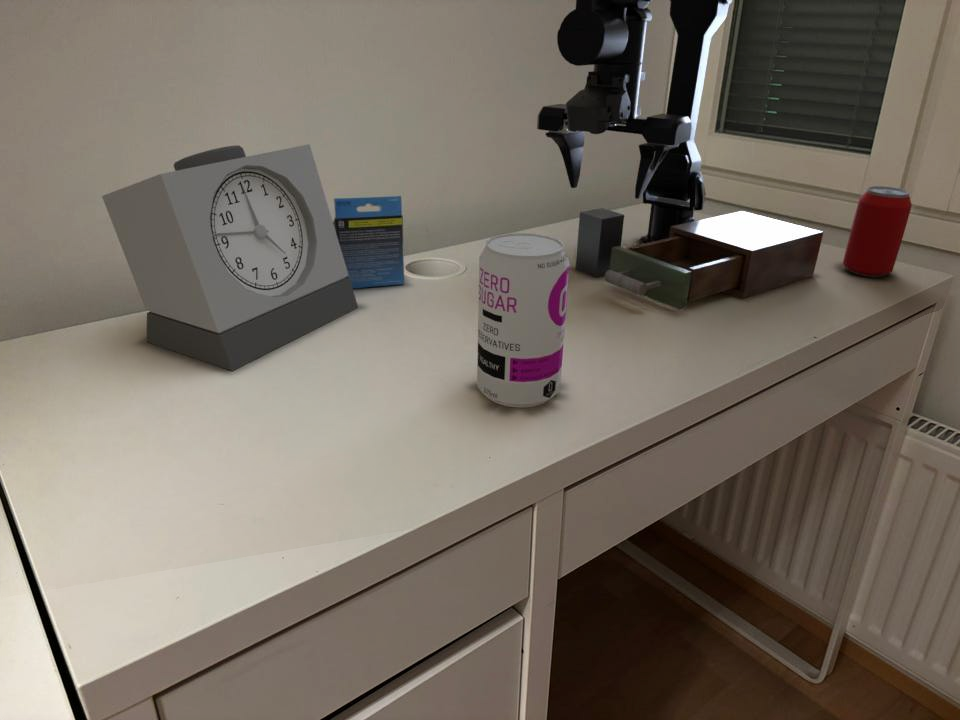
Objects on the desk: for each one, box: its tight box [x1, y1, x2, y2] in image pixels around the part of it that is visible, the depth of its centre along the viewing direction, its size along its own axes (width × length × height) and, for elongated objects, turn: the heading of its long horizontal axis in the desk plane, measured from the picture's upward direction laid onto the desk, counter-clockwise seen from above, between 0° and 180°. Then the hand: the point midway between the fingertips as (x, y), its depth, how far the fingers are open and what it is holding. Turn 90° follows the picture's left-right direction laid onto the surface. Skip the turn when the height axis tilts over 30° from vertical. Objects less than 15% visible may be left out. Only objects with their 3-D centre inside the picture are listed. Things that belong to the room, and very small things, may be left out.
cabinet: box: [669, 210, 824, 299], centre depth 102 cm, size 17×14×7 cm
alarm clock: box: [101, 143, 359, 372], centre depth 80 cm, size 20×16×20 cm
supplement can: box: [476, 232, 571, 409], centre depth 67 cm, size 8×8×15 cm
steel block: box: [575, 207, 625, 279], centre depth 101 cm, size 4×4×8 cm
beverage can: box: [842, 185, 913, 278], centre depth 102 cm, size 7×7×12 cm
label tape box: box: [332, 195, 405, 290], centre depth 94 cm, size 9×4×12 cm, turn 106°
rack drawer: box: [603, 235, 746, 311], centre depth 94 cm, size 20×12×5 cm, turn 126°
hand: (605, 192), depth 92 cm, fingers open, 9 cm apart
